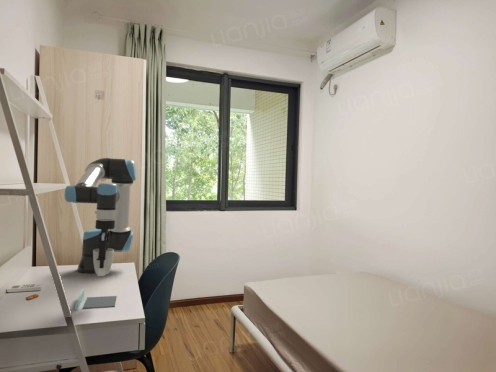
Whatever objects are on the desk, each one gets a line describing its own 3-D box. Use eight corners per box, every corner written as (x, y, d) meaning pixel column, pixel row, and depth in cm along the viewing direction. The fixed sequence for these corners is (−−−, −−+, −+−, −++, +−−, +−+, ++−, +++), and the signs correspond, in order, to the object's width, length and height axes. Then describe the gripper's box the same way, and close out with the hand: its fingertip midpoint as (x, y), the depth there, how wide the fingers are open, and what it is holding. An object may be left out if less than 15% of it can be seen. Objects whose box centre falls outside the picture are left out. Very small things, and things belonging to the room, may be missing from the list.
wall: (81, 297, 140) (81, 288, 140) (83, 297, 140) (84, 288, 140) (75, 310, 127) (75, 300, 127) (77, 310, 127) (78, 300, 127)
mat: (87, 298, 140) (87, 297, 140) (116, 296, 144) (116, 295, 144) (82, 308, 128) (82, 307, 128) (114, 306, 132) (114, 305, 132)
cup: (116, 272, 138) (118, 249, 138) (102, 277, 131) (103, 252, 131) (102, 269, 141) (103, 247, 141) (87, 274, 133) (88, 250, 134)
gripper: (98, 216, 144) (95, 266, 144) (92, 222, 125) (88, 280, 125) (116, 217, 147) (113, 266, 147) (113, 222, 127) (109, 279, 127)
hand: (102, 272), depth 136 cm, fingers closed on cup, 8 cm apart
